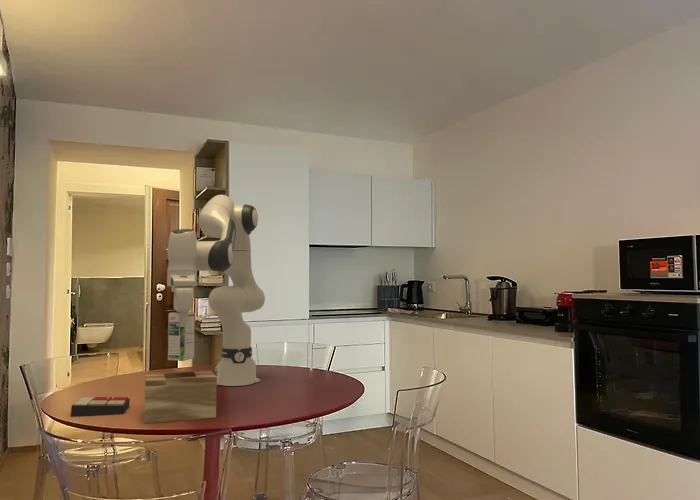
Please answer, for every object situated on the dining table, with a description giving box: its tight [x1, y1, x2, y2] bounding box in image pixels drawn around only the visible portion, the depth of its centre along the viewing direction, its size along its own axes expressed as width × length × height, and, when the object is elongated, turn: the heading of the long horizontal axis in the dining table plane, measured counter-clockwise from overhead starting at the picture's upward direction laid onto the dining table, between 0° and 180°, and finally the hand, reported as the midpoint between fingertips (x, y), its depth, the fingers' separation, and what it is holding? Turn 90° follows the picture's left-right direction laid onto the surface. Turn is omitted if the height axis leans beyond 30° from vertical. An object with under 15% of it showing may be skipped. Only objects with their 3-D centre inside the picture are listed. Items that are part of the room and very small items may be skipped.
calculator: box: [70, 396, 131, 418], centre depth 170 cm, size 11×4×15 cm
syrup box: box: [167, 311, 195, 362], centre depth 167 cm, size 6×6×14 cm
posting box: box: [143, 369, 218, 424], centre depth 166 cm, size 14×20×12 cm
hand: (181, 325), depth 167 cm, fingers closed on syrup box, 8 cm apart
